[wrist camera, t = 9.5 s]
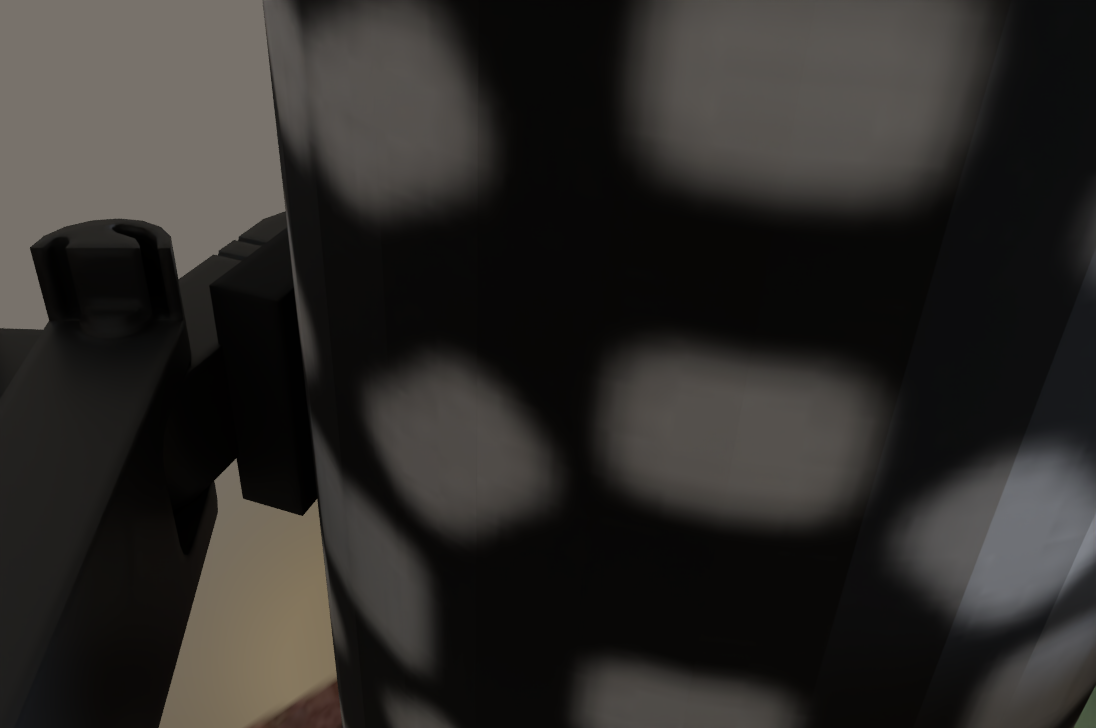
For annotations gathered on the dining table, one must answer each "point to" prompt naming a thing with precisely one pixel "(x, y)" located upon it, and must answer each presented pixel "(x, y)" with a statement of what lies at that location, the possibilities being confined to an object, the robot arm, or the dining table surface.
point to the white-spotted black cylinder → (698, 357)
